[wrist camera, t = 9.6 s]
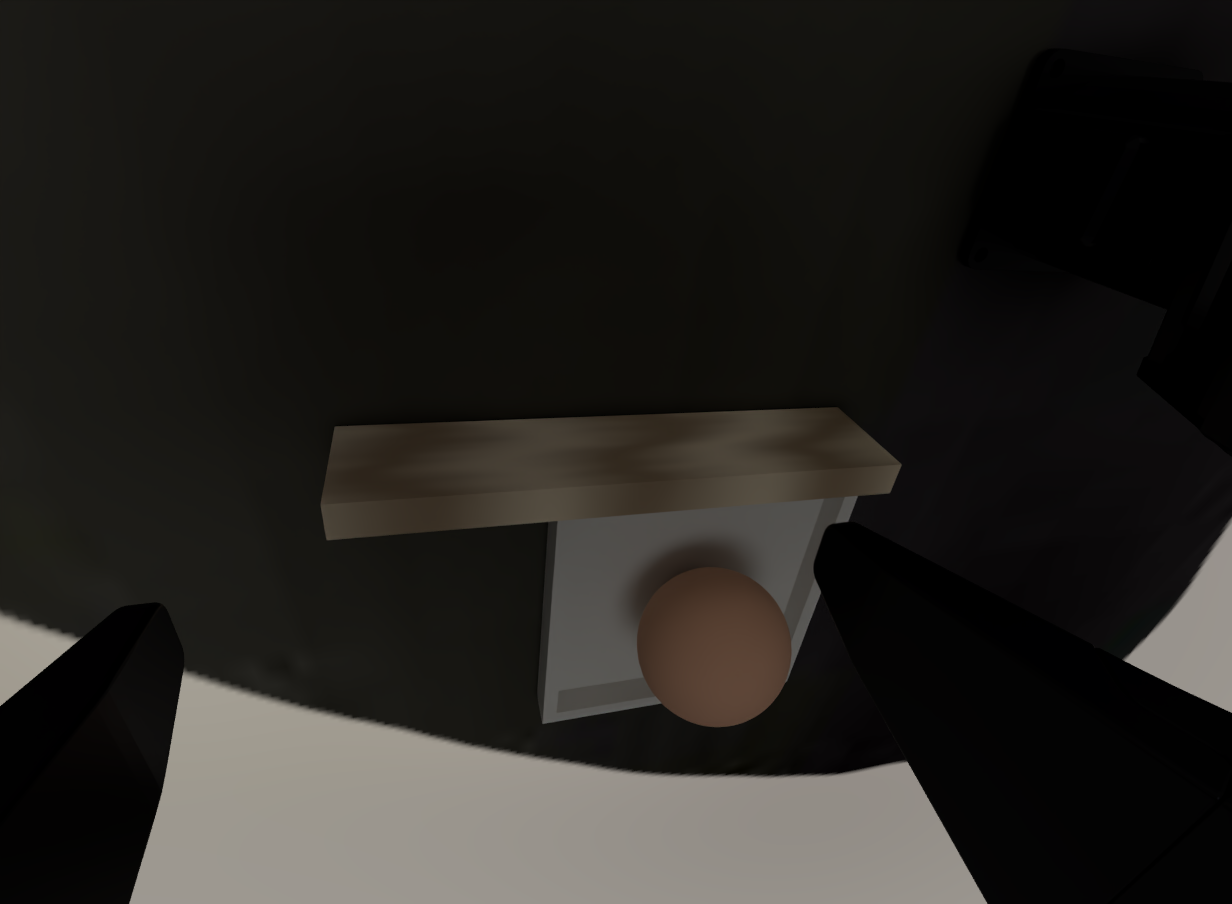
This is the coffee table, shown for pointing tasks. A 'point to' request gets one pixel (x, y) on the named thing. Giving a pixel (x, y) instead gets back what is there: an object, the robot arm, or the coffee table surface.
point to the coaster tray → (638, 566)
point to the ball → (714, 647)
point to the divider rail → (591, 468)
